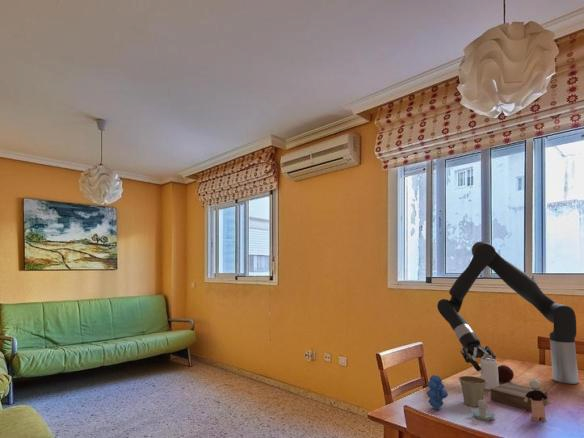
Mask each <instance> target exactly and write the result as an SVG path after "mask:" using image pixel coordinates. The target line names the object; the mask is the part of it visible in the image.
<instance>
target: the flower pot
mask: <svg viewBox="0 0 584 438" xmlns="http://www.w3.org/2000/svg"><path fill="white" fill-rule="evenodd" d="M458 380H459V383H460V385H461V390H462V397H463V402H464V403H465V404H466V405H467V406H471V407H478V404H477V402H478V400H483V401H484V395H485V389H484V387H485V384H486V383H487V381H486V380H485V379H482V378H481V377H478V376H473V375H462V376H459V377H458Z"/></svg>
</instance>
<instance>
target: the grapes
mask: <svg viewBox="0 0 584 438" xmlns="http://www.w3.org/2000/svg"><path fill="white" fill-rule="evenodd" d="M442 382H443V380H442V378H441V377H440V376H439V375H435V374H433V375H431V376H429V381H428V382H427V387H428V388H429V389H428V390H427V392H426V395H427V397H428V398H429V400H428V403H429V405H430V407H432V408H433V409H434V410H435V411H438V410H440V409H441V407H442V406H443V405H444V404H445V403H444V401H443V399H446V398H447V397H448V396H449V393H448V392H447V391H446V389H445V385H444V384H443V383H442Z"/></svg>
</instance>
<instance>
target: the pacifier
mask: <svg viewBox="0 0 584 438" xmlns="http://www.w3.org/2000/svg"><path fill="white" fill-rule="evenodd" d="M477 404H478V406H477V407H478V409H475V408H470V413H471V414H472V415H474V417H477V419H478V420H481V421H493V420H496V417H495V416H496V414H495V413H490V412H487V409H488V404H487V402H486V401H485V400H484V399H483V400H478V402H477Z"/></svg>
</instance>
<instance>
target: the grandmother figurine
mask: <svg viewBox="0 0 584 438" xmlns="http://www.w3.org/2000/svg"><path fill="white" fill-rule="evenodd" d="M528 385H529V387H530V388H532V389H533V390H534V391H529V392H528V393H527V394H526V395H525V399H524V402H527V401H528V399H530V398H531V406H532V411H531V413H532V416H531V420H533V421H536V422H539V421H542V422H547V418H546V411H545V405H543V401H542V398H543V399H544V400H545V401H546V403H547V404H546V405H551V402H550V401H549V398H548V395H547V396H546V395H545V394H544V393H543V392H542V391H543V390H542V391H538V390H541V388H542V384H541V382H540V380H539V379H537V378H536V379H535V378H533V379H531V380H530V381H529V384H528Z"/></svg>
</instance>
